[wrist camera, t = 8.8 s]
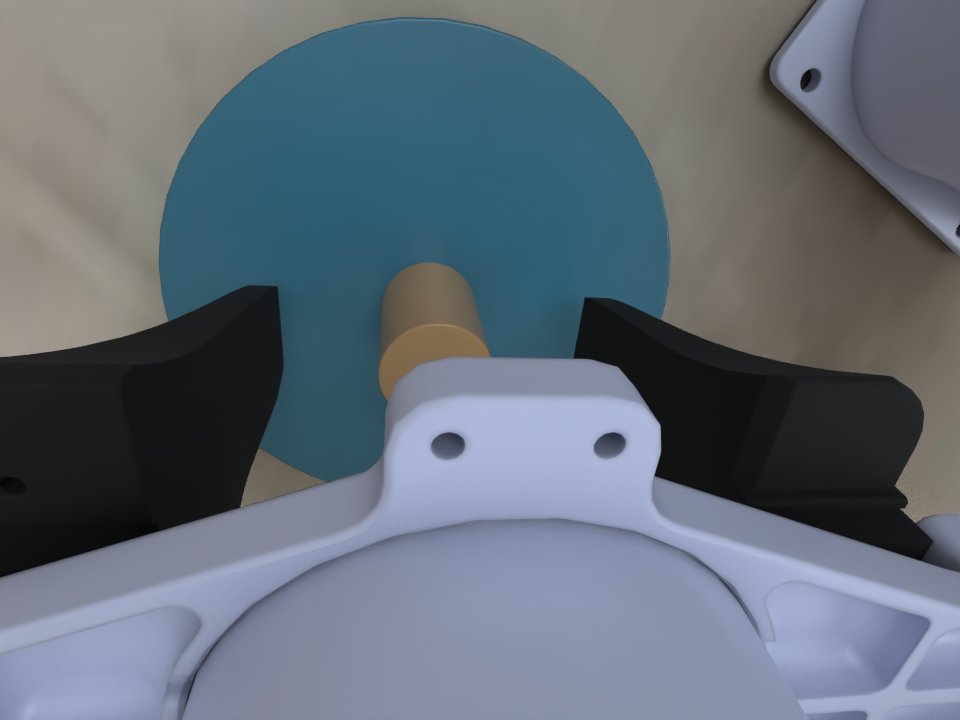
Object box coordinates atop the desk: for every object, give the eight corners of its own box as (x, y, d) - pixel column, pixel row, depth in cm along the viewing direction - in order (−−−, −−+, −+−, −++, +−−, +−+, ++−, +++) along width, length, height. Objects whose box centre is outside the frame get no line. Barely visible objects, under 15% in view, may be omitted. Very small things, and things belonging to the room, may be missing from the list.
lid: (710, 47, 14) (836, 54, 10) (606, 471, 20) (659, 581, 16) (126, -14, 12) (-9, -36, 8) (208, 476, 18) (155, 603, 14)
